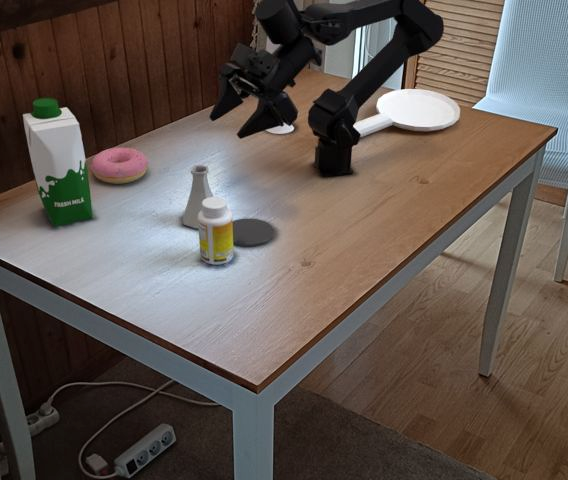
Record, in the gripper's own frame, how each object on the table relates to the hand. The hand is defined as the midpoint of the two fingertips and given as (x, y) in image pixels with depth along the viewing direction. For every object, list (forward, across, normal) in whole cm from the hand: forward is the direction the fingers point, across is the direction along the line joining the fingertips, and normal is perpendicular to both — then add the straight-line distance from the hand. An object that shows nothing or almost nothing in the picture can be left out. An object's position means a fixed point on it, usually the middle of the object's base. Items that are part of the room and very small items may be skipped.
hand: (224, 127), depth 131 cm
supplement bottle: (+18, +16, +6) cm, 24 cm away
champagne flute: (-15, -23, +28) cm, 40 cm away
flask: (+14, +3, +8) cm, 17 cm away
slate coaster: (+11, +12, +10) cm, 19 cm away
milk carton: (+30, -12, -3) cm, 33 cm away
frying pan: (-33, -10, +40) cm, 53 cm away
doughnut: (+18, -21, +6) cm, 28 cm away
